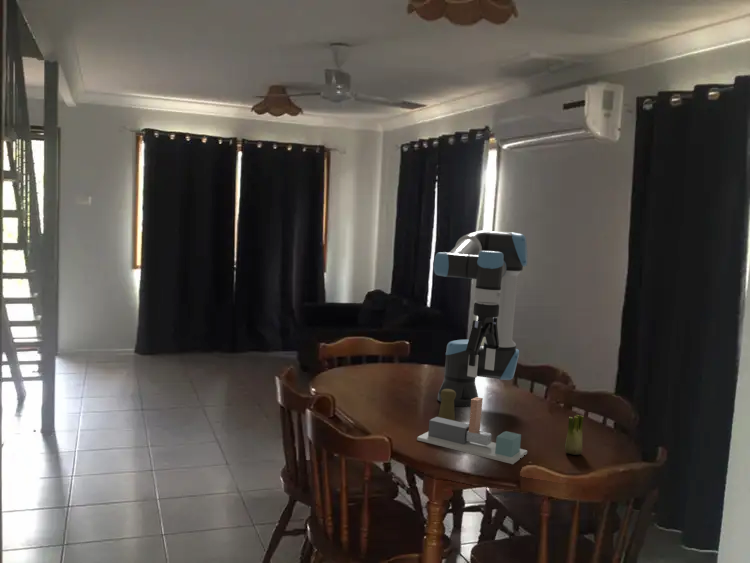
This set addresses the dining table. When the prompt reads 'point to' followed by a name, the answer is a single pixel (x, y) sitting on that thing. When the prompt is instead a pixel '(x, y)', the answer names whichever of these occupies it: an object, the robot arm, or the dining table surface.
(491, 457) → the base board
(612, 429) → the dining table surface
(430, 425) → the outer sleeve
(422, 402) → the dining table surface
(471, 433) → the inner bar
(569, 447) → the fennel bulb
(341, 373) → the dining table surface
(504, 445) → the socket block
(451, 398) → the cork
